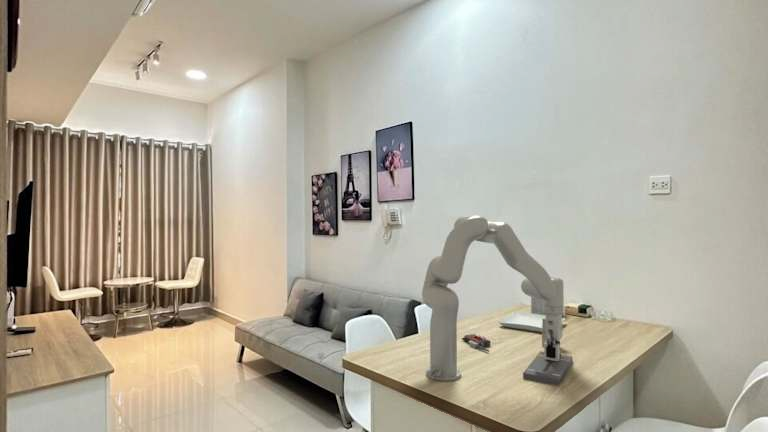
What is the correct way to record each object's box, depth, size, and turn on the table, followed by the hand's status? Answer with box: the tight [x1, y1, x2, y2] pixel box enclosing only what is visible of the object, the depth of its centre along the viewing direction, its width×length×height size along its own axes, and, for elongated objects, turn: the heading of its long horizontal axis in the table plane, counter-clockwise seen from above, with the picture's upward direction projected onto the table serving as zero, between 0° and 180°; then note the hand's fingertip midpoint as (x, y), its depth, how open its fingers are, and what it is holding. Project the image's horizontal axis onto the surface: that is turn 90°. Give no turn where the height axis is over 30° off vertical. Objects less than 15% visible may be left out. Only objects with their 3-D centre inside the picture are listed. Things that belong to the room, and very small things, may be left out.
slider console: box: [522, 350, 573, 387], centre depth 152 cm, size 28×12×3 cm, turn 147°
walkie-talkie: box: [461, 333, 491, 353], centre depth 181 cm, size 9×4×20 cm
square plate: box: [498, 311, 566, 333], centre depth 215 cm, size 27×27×4 cm
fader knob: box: [543, 342, 561, 361], centre depth 156 cm, size 3×5×6 cm, turn 57°
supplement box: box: [530, 296, 546, 315], centre depth 240 cm, size 13×13×18 cm
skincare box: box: [541, 318, 552, 347], centre depth 180 cm, size 6×4×12 cm
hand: (553, 354), depth 159 cm, fingers open, 8 cm apart
